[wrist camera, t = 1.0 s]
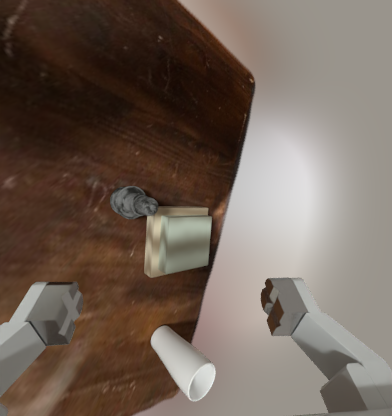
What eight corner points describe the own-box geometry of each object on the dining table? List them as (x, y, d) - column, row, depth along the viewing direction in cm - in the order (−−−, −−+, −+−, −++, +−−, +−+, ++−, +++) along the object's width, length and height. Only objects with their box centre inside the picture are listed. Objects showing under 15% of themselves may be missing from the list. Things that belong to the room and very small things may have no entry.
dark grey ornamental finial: (119, 222, 42) (150, 235, 33) (101, 196, 40) (129, 203, 31) (144, 204, 45) (178, 212, 36) (128, 179, 43) (161, 180, 33)
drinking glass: (177, 324, 54) (221, 364, 43) (163, 352, 53) (205, 402, 41) (156, 318, 50) (200, 360, 39) (141, 348, 49) (181, 402, 37)
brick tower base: (148, 206, 46) (163, 209, 41) (200, 206, 55) (217, 209, 50) (144, 272, 47) (158, 283, 42) (195, 262, 56) (212, 270, 51)
